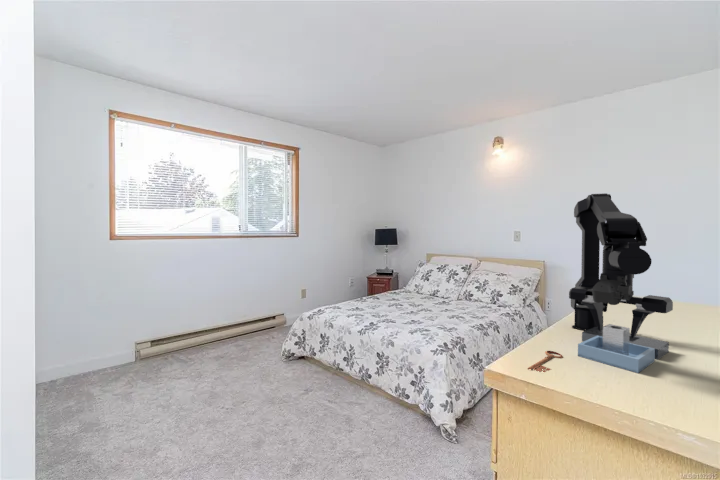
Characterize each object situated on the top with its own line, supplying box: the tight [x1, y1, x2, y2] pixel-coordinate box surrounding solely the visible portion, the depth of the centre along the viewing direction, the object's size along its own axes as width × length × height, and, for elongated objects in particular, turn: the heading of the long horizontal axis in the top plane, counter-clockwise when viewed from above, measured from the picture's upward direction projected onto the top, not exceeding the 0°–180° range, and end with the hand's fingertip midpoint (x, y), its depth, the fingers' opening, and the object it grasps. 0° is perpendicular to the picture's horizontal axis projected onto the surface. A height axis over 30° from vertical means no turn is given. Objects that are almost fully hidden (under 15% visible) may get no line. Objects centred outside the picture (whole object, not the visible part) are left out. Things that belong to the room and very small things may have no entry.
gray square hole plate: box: [581, 327, 670, 361], centre depth 85 cm, size 16×9×2 cm, turn 34°
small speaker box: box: [603, 323, 631, 356], centre depth 77 cm, size 4×4×7 cm
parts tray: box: [577, 336, 656, 374], centre depth 77 cm, size 12×12×3 cm
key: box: [527, 350, 564, 373], centre depth 75 cm, size 6×1×15 cm
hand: (615, 333), depth 77 cm, fingers open, 6 cm apart
